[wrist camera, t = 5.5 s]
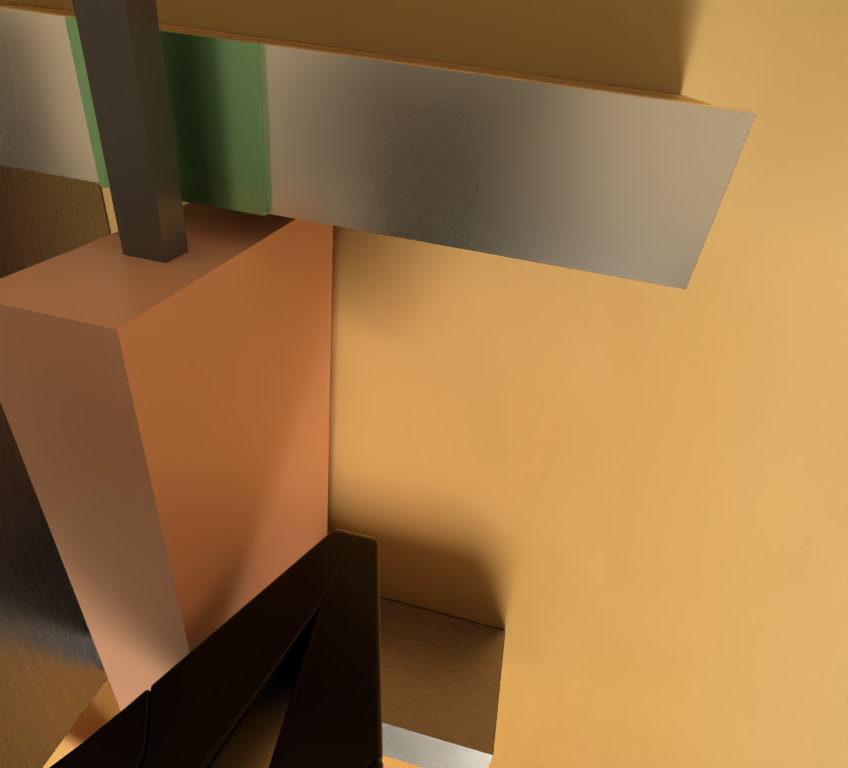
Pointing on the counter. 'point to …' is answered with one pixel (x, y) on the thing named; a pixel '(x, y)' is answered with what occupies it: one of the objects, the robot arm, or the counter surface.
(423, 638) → the gauge frame
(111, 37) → the long salmon pink beam
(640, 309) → the counter surface
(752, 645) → the counter surface
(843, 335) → the counter surface
